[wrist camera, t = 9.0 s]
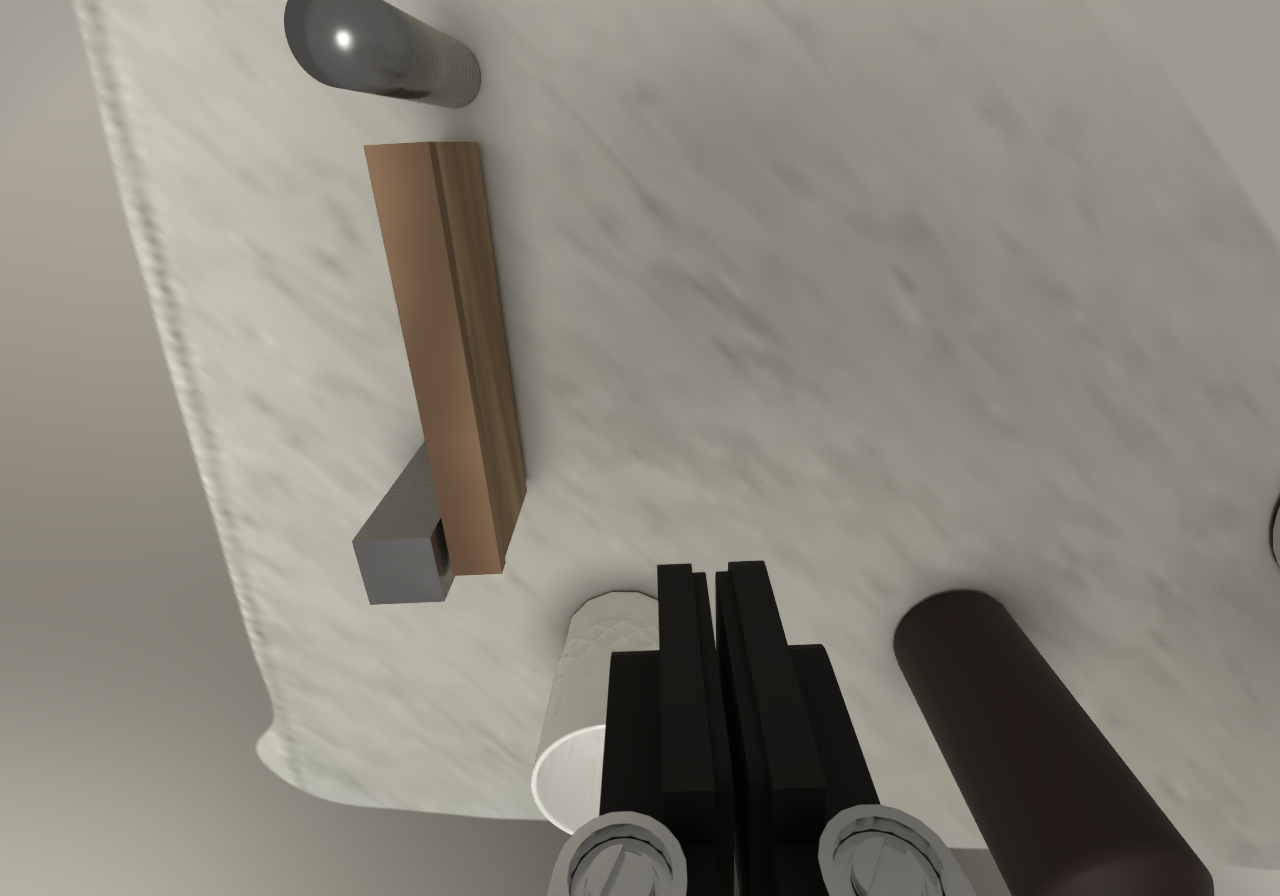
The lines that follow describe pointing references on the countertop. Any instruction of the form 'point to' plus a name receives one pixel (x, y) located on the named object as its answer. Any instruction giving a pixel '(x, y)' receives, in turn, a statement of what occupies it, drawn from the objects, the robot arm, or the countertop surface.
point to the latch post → (406, 541)
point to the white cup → (586, 704)
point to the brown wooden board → (453, 340)
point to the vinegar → (1036, 762)
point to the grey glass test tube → (380, 52)
